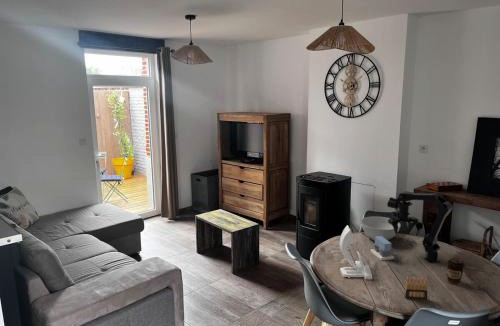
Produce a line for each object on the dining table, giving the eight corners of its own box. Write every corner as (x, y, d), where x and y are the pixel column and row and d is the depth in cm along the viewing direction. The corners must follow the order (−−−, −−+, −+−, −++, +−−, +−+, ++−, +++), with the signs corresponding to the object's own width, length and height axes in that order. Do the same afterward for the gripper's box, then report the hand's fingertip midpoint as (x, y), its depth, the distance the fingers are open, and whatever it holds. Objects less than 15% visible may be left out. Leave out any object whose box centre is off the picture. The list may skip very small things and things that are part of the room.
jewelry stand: (372, 279, 206) (374, 237, 201) (344, 280, 206) (346, 238, 201) (358, 259, 230) (359, 222, 226) (333, 260, 230) (334, 222, 225)
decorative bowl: (352, 234, 271) (353, 218, 268) (383, 229, 278) (384, 214, 276) (375, 248, 245) (376, 231, 243) (408, 243, 253) (409, 226, 251)
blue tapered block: (390, 250, 229) (391, 243, 228) (384, 251, 228) (384, 243, 228) (381, 243, 241) (381, 236, 240) (374, 243, 240) (375, 236, 239)
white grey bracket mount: (394, 258, 230) (394, 249, 229) (380, 260, 229) (381, 250, 227) (383, 250, 243) (383, 241, 241) (370, 251, 241) (371, 242, 240)
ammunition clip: (405, 298, 187) (406, 276, 184) (404, 296, 189) (405, 275, 186) (427, 299, 185) (429, 278, 183) (426, 297, 187) (427, 276, 185)
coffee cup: (462, 287, 196) (464, 265, 193) (444, 283, 200) (446, 261, 197) (462, 280, 203) (465, 258, 200) (446, 276, 207) (448, 255, 205)
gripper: (409, 205, 246) (408, 227, 249) (384, 207, 243) (382, 229, 246) (419, 211, 235) (418, 233, 238) (393, 213, 232) (391, 236, 235)
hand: (402, 233), depth 240 cm, fingers open, 9 cm apart
